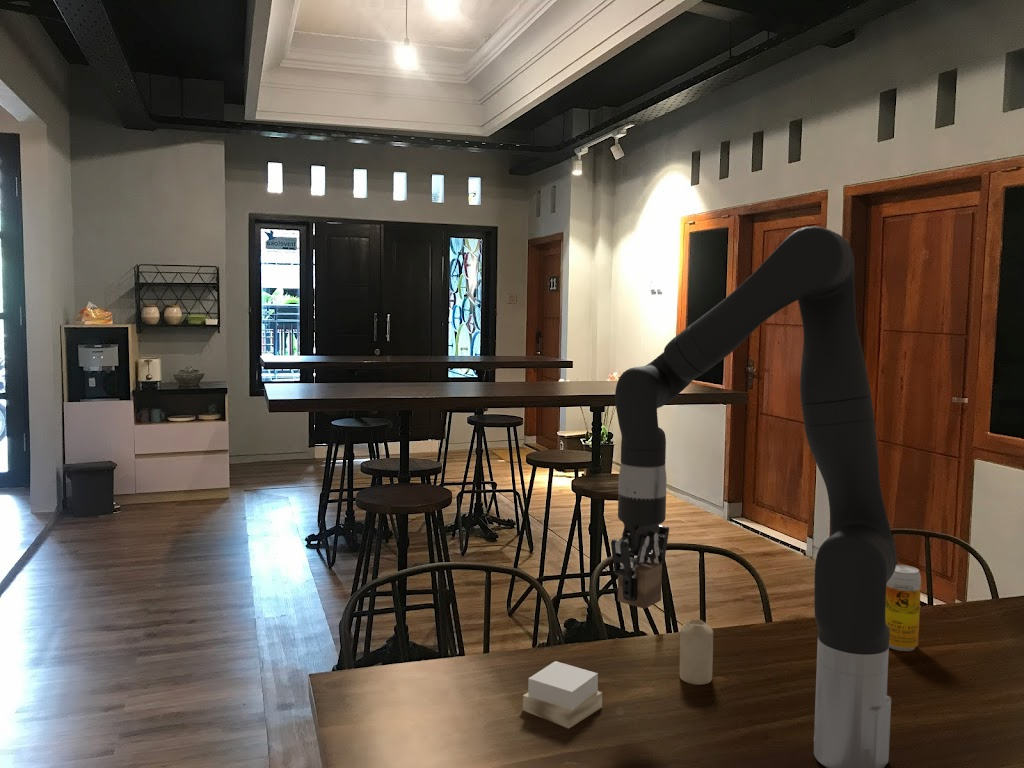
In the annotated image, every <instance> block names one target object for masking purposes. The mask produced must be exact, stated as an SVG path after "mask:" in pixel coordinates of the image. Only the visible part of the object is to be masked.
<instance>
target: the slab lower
mask: <svg viewBox="0 0 1024 768" xmlns="http://www.w3.org/2000/svg"><path fill="white" fill-rule="evenodd" d="M602 708H603V692H602V691H599V690H598V691H597V692H596V693H595V694H593V695H592V696H591V697H590V698H588V699H587V700H586V701H584V702H583V703H582V704H580V705H579V706H578V707H576V708H575V709H574V710H572V711H571V710H568V709H565V708H561V707H558V706H555V705H552V704H549V703H546V702H543V701H540V700H537V699H534V698H531V697H528V692H526V693H525V694H523V695H522V711H524V712H526V713H529V714H531V715H534V716H535V717H539V718H541V719H544V720H546V721H548V722H551V723H554V724H556V725H559V726H562V727H564V728H566V729H570V728H572V727H574V726H575V725H577V724H578V723H580V722H581V721H583V720H585V719H586V718H587V717H589V716H591V715H593V714H594V713H595V712H597V711H599V710H600V709H602Z"/></svg>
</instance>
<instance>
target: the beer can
mask: <svg viewBox="0 0 1024 768" xmlns="http://www.w3.org/2000/svg"><path fill="white" fill-rule="evenodd" d="M921 589H922V575H921V573H920V569H919V568H917V567H914V566H911V565H910V566H909V565H905V564H896V568H895V571H894V573H893V575H892V577H891V578H890V579H889V581H888V582H887V584H886V611H885V620H886V624H887V626H888V628H889V632H890V635H889V649H893V650H896V651H900V652H902V651H903V652H912V651H914V650H915V649H916V647H918V646H919V633H920V631H919V630H920V610H921V592H922V591H921Z"/></svg>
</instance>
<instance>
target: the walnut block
mask: <svg viewBox="0 0 1024 768" xmlns="http://www.w3.org/2000/svg"><path fill="white" fill-rule="evenodd" d="M630 563H631V570H632V568H633V562H630ZM620 565H621V568H622V563H620ZM662 571H663V563H653V562H650V561H646V560H644V561H643V564H641V565H640V566H639V570H638V576H637V578H638V580H637V600H635V601H629V600H625V599H624V598H623V576H621V575H617V602H619V603H622V604H626V605H630V606H633V607H636V608H641V609H647V608H649V607H651V606H653V605H655V604H657V603H659V602H661V601H662V580H663V579H662V576H663V574H662V573H663V572H662Z"/></svg>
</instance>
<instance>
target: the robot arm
mask: <svg viewBox="0 0 1024 768" xmlns="http://www.w3.org/2000/svg"><path fill="white" fill-rule="evenodd" d="M855 284H856V283H855V258H854V251H853V249H852V248H851V245H850V244H849V242H848V241H847V240H846V239H845V238H844V237H843V236H842V235H841V234H839V233H837V232H836V231H832V230H830V229H828V228H825V227H823V226H805V227H801V228H799V229H796V230H795V231H793V232H791V234H789V235H788V236H787V237H786V238H785V239H784V240H783V241H782V242H781V243H780V244H779V245H778V246H777V247H776V249H775V250H774V251H772V253H770V255H769V256H768V257H767V258H766V259H765V260H764V261H763V262H762V264H761V265H759V266H758V268H757V269H755V271H754V272H753V273H752V274H751V275H750V276H748V278H747V279H746V280H744V281H743V282H742V283H741V284H740V285H739V286H738V287H737V288H736V289H735V290H733V291H732V292H731V293H729V295H727V297H725V298H724V299H722V300H721V301H720V302H718V303H717V304H716V305H715V306H714V307H712V308H711V309H710V310H708V311H707V312H706V313H704V314H703V315H701V316H700V317H699V318H698V319H696V320H695V321H694V322H692V323H691V324H689V326H687V327H686V328H685V329H683V330H682V331H681V332H680V333H678V334H677V335H676V336H674V337H673V338H672V339H671V340H669V342H668V343H667V344H666V345H665V347H664V349H663V352H661V354H659V355H658V356H657V357H656V358H655V359H653V360H652V361H650V362H648V364H646V365H642V366H635V367H631V368H628V369H626V370H625V371H624V372H622V373H621V375H620V376H619V377H618V380H617V382H616V386H615V391H614V392H615V393H614V401H615V403H614V404H615V410H616V414H617V422H618V425H619V430H620V434H621V442H620V443H621V444H620V468H619V473H618V495H617V496H618V497H617V498H618V499H617V518H618V520H619V521H620V522H622V523H623V531H622V535H621V537H620V538H619V539H614V538H613V539H612V540H610V541H611V542H610V546H611V548H610V549H611V555H612V563H613V572H614V575H617V576H618V575H621V576H623V598H624V599H625V600H629V601H635V600H637V580H638V578H637V576H638V570H639V566H640V565H641V564H643V561H644V560H646V561H650V562H653V563H659V564H664V563H665V560H666V554H667V553H666V552H667V547H668V540H669V534H670V533H669V532H670V527H669V526H665V525H661V524H663V523H664V522H665V521H666V517H667V516H666V515H667V514H666V508H667V483H668V482H667V472H666V470H667V469H666V458H667V457H666V455H667V454H666V453H667V450H666V449H667V439H666V437H667V436H666V433H665V431H664V430H663V429H662V428H660V427H659V419H658V409H659V408H662V407H663V406H665V405H666V404H668V403H670V402H671V401H672V400H674V399H675V398H676V397H678V395H680V394H681V392H683V391H684V390H685V389H686V388H687V387H688V386H690V384H691V383H692V382H693V381H694V380H695V379H697V378H699V377H700V376H702V375H703V374H704V373H706V372H708V371H709V370H711V369H712V368H713V367H714V366H716V365H717V364H718V363H720V362H721V361H723V360H724V359H725V358H727V357H728V356H729V355H730V354H732V353H733V352H734V351H735V350H736V349H737V348H739V346H740V345H741V344H743V342H744V341H745V340H746V339H748V338H749V336H750V335H751V334H752V333H753V332H754V331H755V330H756V329H757V328H758V327H759V326H761V324H763V323H764V322H766V321H767V320H768V319H769V318H771V317H772V316H773V315H775V314H777V313H778V312H779V311H781V310H782V309H784V308H785V307H787V306H789V305H791V304H792V303H795V302H796V301H797V302H798V306H799V311H800V312H799V313H800V317H801V322H802V329H803V344H802V345H803V346H802V355H801V366H800V375H799V376H800V377H799V378H800V379H799V389H800V391H799V392H800V393H799V394H800V403H801V410H802V419H803V426H804V431H805V435H806V438H807V439H806V440H807V443H808V445H809V448H810V451H811V454H812V456H813V459H814V461H815V463H816V465H817V467H818V470H819V472H820V475H821V477H822V479H823V482H824V484H825V488H826V492H827V497H828V504H829V505H828V507H829V516H830V517H829V518H830V521H829V522H830V536H829V537H828V538H827V539H825V540H824V541H823V542H822V544H821V545H820V547H819V548H818V550H817V554H816V557H815V564H814V593H813V594H814V598H813V599H814V604H813V605H814V618H815V622H816V625H817V644H816V645H817V647H816V648H817V650H816V677H815V702H814V703H815V705H814V728H813V729H814V730H813V731H814V732H813V733H814V735H813V755H814V758H815V759H816V761H817V762H819V764H821V765H822V766H824V767H825V768H885V767H886V765H887V764H888V763H889V757H890V755H889V754H890V737H891V734H890V733H891V716H892V715H891V713H892V712H891V711H892V710H891V709H892V708H891V707H892V697H891V696H890V695H888V679H889V678H888V676H889V675H888V673H889V670H888V669H889V653H890V651H889V650H890V647H889V635H890V632H889V628H888V626H887V624H886V620H885V611H886V584H887V582H888V581H889V579H890V578H891V577H892V575H893V573H894V571H895V568H896V565H897V561H898V560H897V557H898V556H897V551H896V545H895V541H894V537H893V533H892V530H891V526H890V522H889V518H888V516H887V515H888V514H887V511H886V507H885V506H886V505H885V503H884V498H883V494H882V488H881V480H880V462H879V450H878V442H877V441H878V440H877V434H876V433H877V432H876V430H877V429H876V422H875V415H874V406H873V399H872V398H873V397H872V396H871V395H872V394H871V387H870V382H869V376H868V371H867V366H866V360H865V355H864V351H863V346H862V342H861V337H860V335H859V329H858V324H857V314H856V290H855V288H856V287H855ZM631 555H632V556H636V557H631ZM630 562H633V568H632V570H631V563H630ZM620 564H622V568H621V565H620Z"/></svg>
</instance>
